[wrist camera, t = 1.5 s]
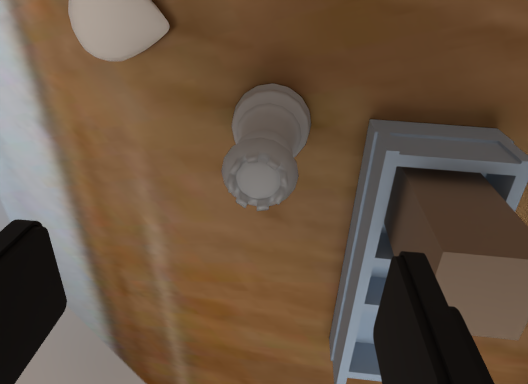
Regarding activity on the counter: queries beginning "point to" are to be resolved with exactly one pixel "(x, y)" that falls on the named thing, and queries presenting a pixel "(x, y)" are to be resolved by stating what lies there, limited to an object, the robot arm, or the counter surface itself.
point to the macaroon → (116, 26)
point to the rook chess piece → (266, 145)
